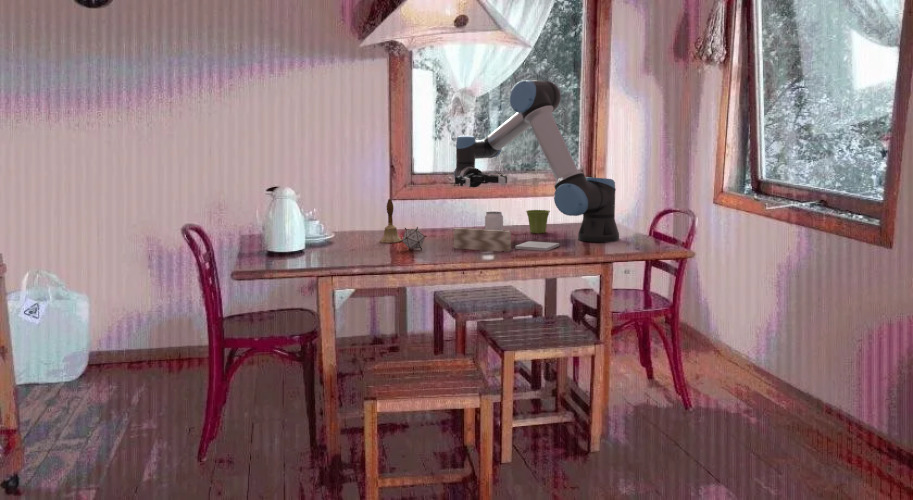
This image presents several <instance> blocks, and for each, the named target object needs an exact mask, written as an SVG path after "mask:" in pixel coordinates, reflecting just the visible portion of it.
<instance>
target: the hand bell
mask: <svg viewBox="0 0 913 500" xmlns="http://www.w3.org/2000/svg"><path fill="white" fill-rule="evenodd" d="M386 213H387V216H388V221H387V225H386V226H385V227H384V231H383V236H382V238H381V239H380V241H379V242H380V243H383V244H393V243H396V244H397V243H401V242H400V241H402V239H403V238H400V236H399V234H398V229H397V227H396V226H395V225H394V223H393V215H394V203H393V200H392V198H388V199H387V203H386Z"/></svg>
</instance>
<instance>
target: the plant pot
mask: <svg viewBox="0 0 913 500" xmlns="http://www.w3.org/2000/svg"><path fill="white" fill-rule="evenodd" d="M525 212H526V214H527V218H528V225H529V232H530V233H531V234H542V233H543V234H545V233H546V232H547V224H548V217H549V215H550V212H551V211H550V210H548V209H547V210H546V209H529V210H525Z"/></svg>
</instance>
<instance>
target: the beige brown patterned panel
mask: <svg viewBox="0 0 913 500" xmlns="http://www.w3.org/2000/svg"><path fill="white" fill-rule="evenodd" d="M453 248H454V249H462V250H474V251H490V252H502V251H504V252H505V253H508V252H511V251H512V231H511V230H504V229H503V230H487V229H485V228H483V229H482V228H467V227H466V228H465V227H455V228H453Z"/></svg>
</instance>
